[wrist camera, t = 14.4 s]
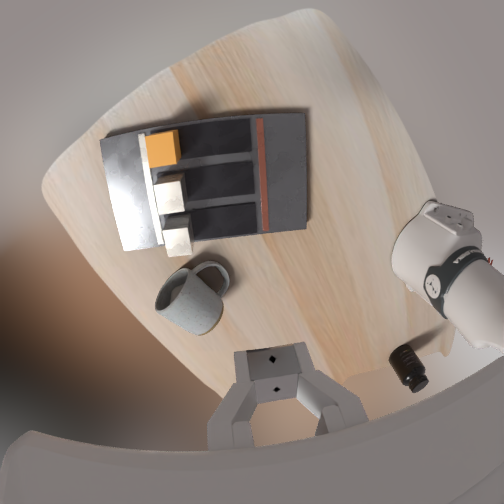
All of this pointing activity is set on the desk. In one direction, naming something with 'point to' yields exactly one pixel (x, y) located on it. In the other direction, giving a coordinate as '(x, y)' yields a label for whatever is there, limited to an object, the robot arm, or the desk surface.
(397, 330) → the desk surface
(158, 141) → the toggle
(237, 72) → the desk surface
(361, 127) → the desk surface
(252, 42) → the desk surface
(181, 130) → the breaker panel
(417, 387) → the supplement bottle
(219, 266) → the ceramic mug
